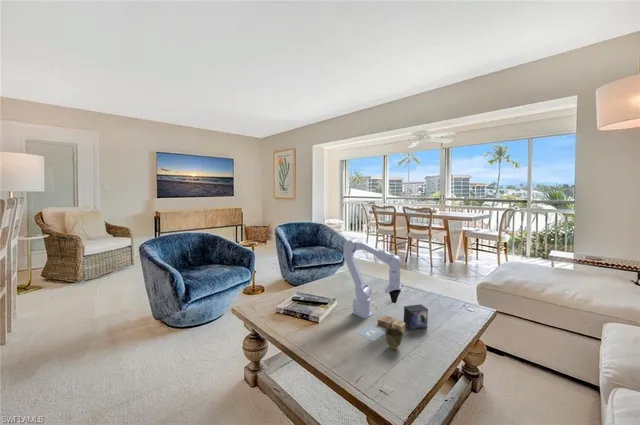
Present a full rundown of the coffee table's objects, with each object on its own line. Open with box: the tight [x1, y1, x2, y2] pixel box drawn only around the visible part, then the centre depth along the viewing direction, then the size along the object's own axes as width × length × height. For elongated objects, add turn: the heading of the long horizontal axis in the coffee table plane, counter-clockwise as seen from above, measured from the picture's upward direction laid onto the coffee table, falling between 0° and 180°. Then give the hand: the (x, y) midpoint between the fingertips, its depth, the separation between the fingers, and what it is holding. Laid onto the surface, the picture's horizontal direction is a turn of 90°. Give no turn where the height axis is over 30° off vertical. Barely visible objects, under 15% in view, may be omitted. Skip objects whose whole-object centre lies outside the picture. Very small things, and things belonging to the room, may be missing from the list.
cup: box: [384, 327, 403, 351], centre depth 125 cm, size 8×7×8 cm
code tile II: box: [402, 330, 410, 339], centre depth 138 cm, size 8×8×1 cm
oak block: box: [391, 319, 406, 335], centre depth 138 cm, size 5×5×5 cm
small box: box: [403, 303, 429, 331], centre depth 144 cm, size 11×6×10 cm, turn 104°
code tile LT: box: [355, 324, 386, 342], centre depth 138 cm, size 11×11×1 cm
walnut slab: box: [377, 314, 397, 329], centre depth 147 cm, size 7×7×3 cm
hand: (394, 302), depth 149 cm, fingers closed
